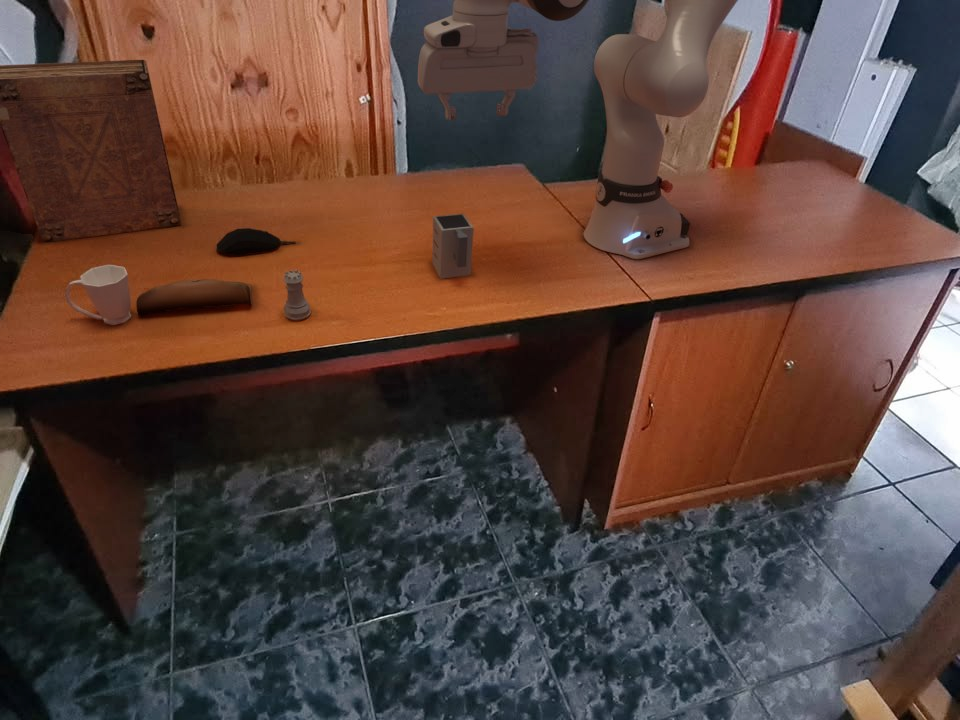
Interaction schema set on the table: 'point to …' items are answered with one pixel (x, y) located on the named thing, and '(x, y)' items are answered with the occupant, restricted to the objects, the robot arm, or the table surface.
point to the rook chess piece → (295, 297)
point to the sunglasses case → (194, 295)
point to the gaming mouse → (248, 242)
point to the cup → (105, 293)
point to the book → (88, 147)
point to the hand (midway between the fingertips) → (476, 116)
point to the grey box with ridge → (452, 245)
